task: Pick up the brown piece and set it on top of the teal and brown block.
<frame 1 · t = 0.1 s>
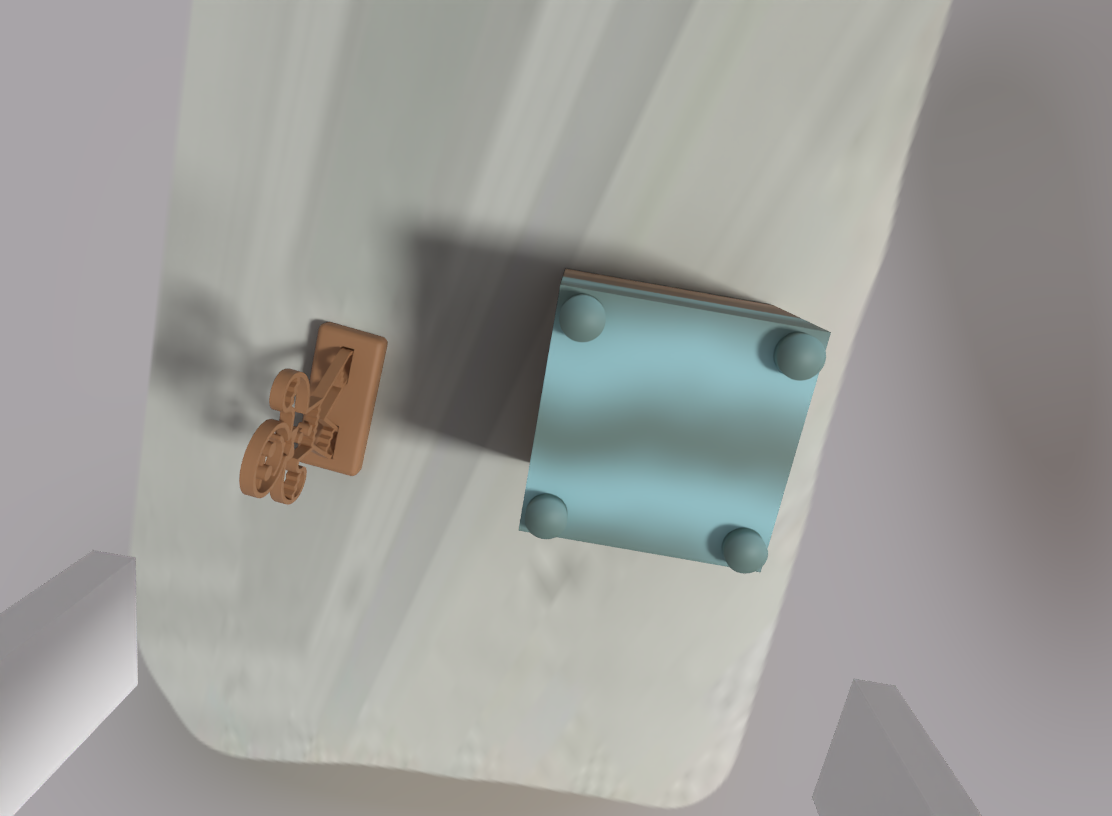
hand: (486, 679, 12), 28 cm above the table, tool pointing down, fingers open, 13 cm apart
brown piece: (344, 398, 40), on the table
teal and brown block: (647, 387, 39), on the table
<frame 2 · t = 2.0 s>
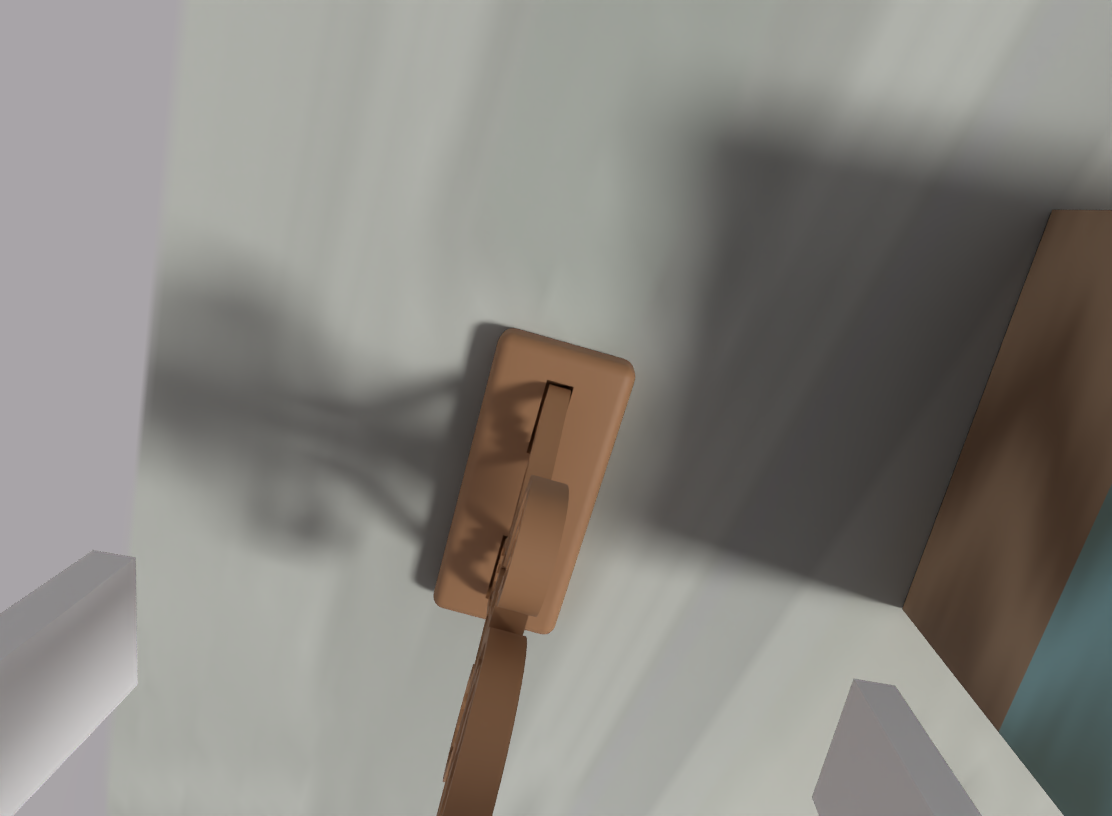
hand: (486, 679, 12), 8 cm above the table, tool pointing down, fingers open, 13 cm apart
brown piece: (530, 481, 20), on the table
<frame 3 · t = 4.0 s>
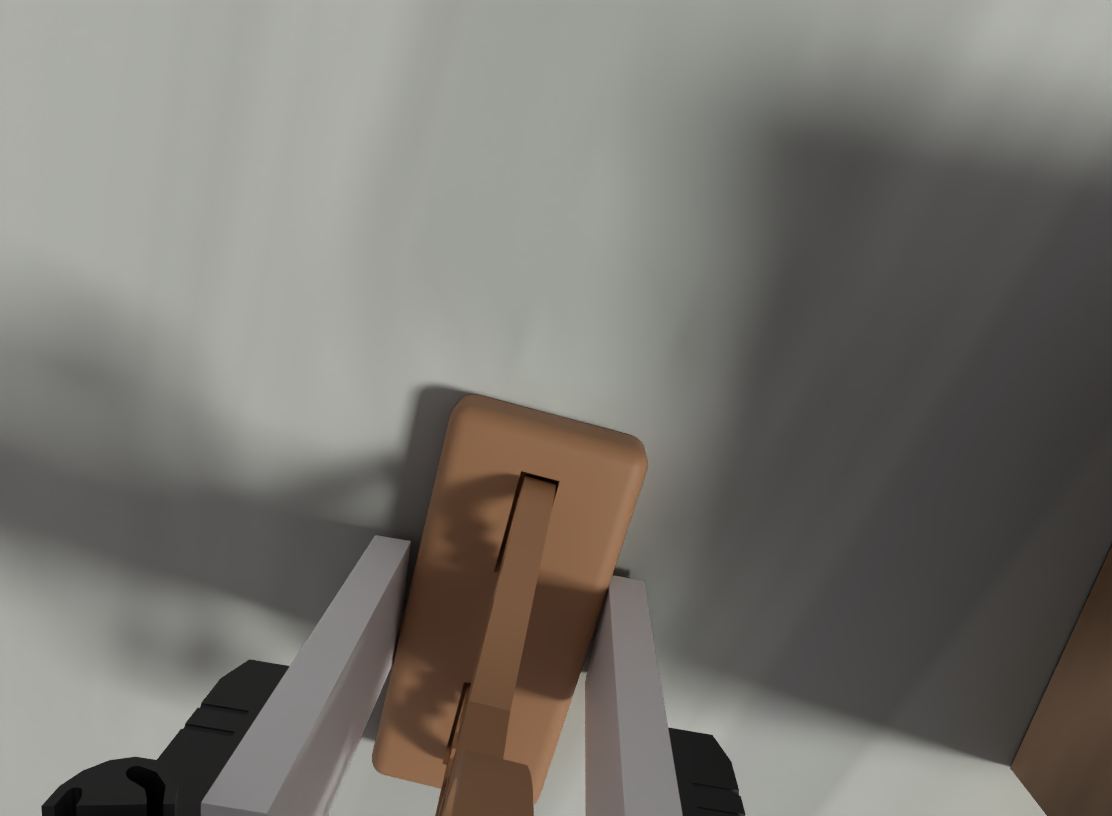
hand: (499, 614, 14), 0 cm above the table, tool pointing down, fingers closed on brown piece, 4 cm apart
brown piece: (503, 598, 14), on the table, touching gripper
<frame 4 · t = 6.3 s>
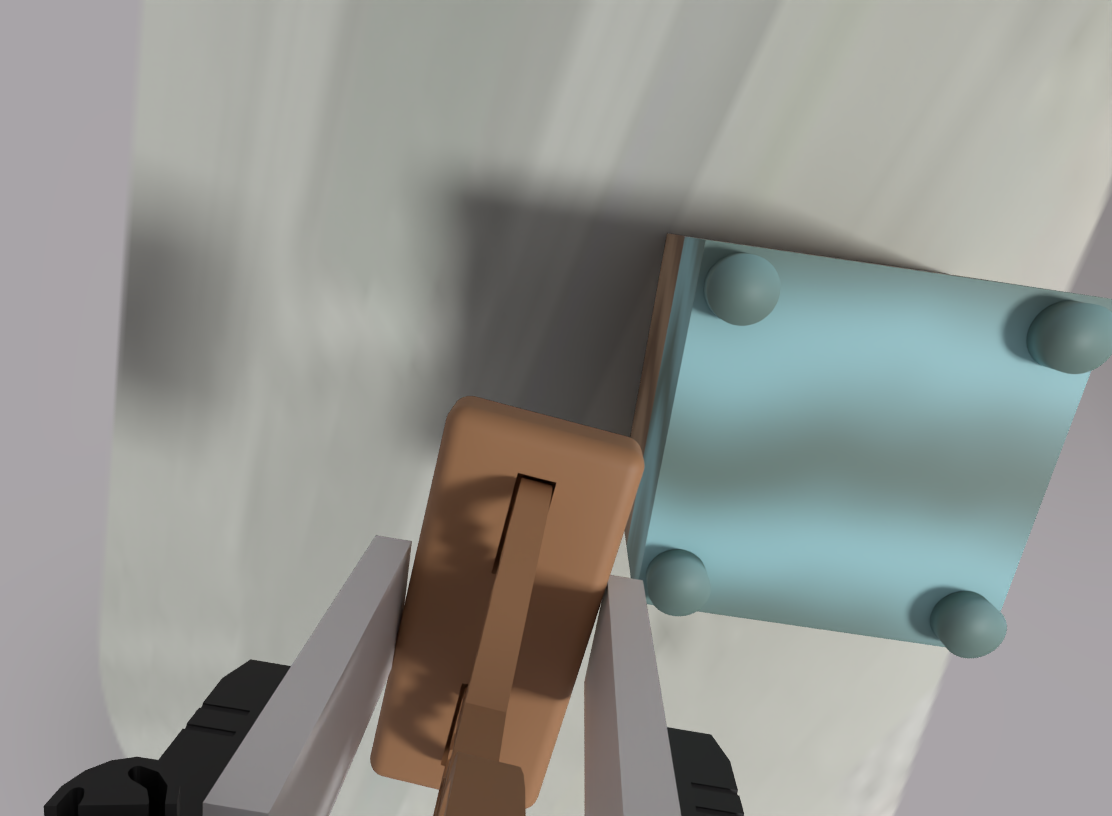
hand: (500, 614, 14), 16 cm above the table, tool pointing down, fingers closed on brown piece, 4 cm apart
brown piece: (501, 599, 15), point 16 cm above the table, touching gripper
teal and brown block: (775, 391, 29), on the table
when the fingers open (11 cm above the table, at t = 8.6 s): brown piece drops 1 cm, resting on teal and brown block.
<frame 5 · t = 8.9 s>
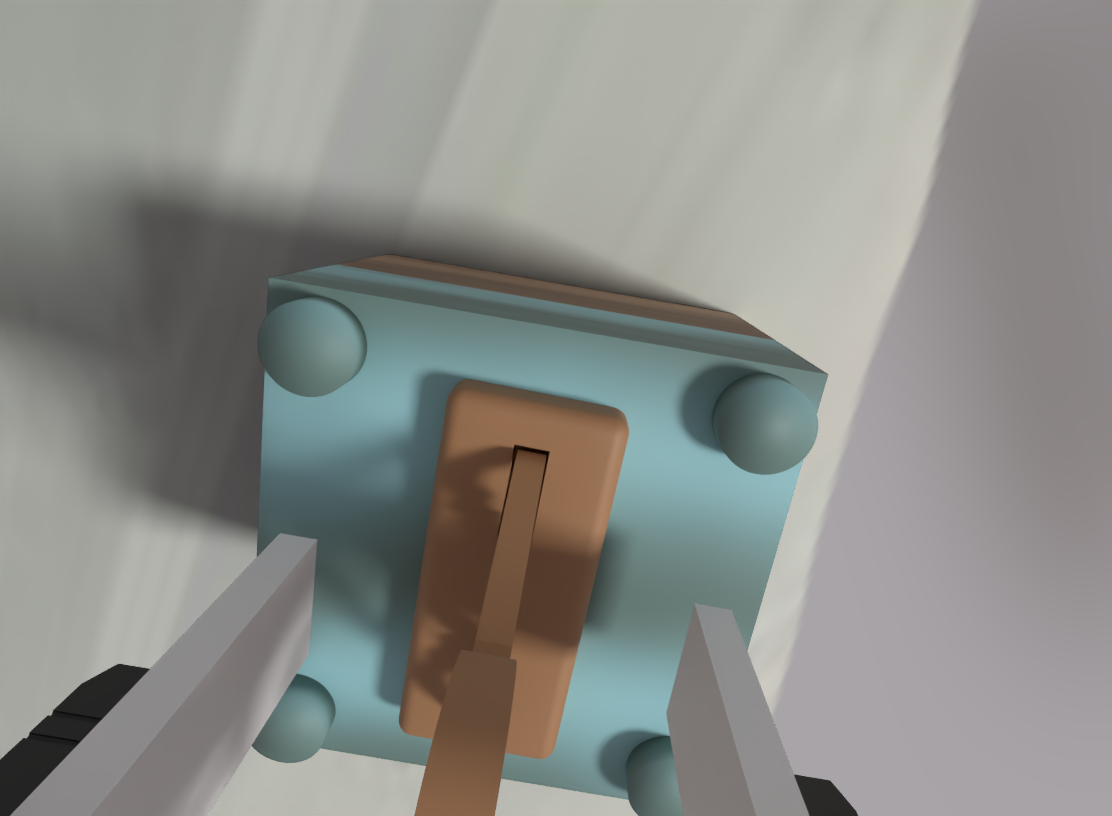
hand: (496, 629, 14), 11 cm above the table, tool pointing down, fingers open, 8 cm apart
brown piece: (509, 566, 16), point 9 cm above the table, touching teal and brown block
teal and brown block: (534, 446, 24), on the table
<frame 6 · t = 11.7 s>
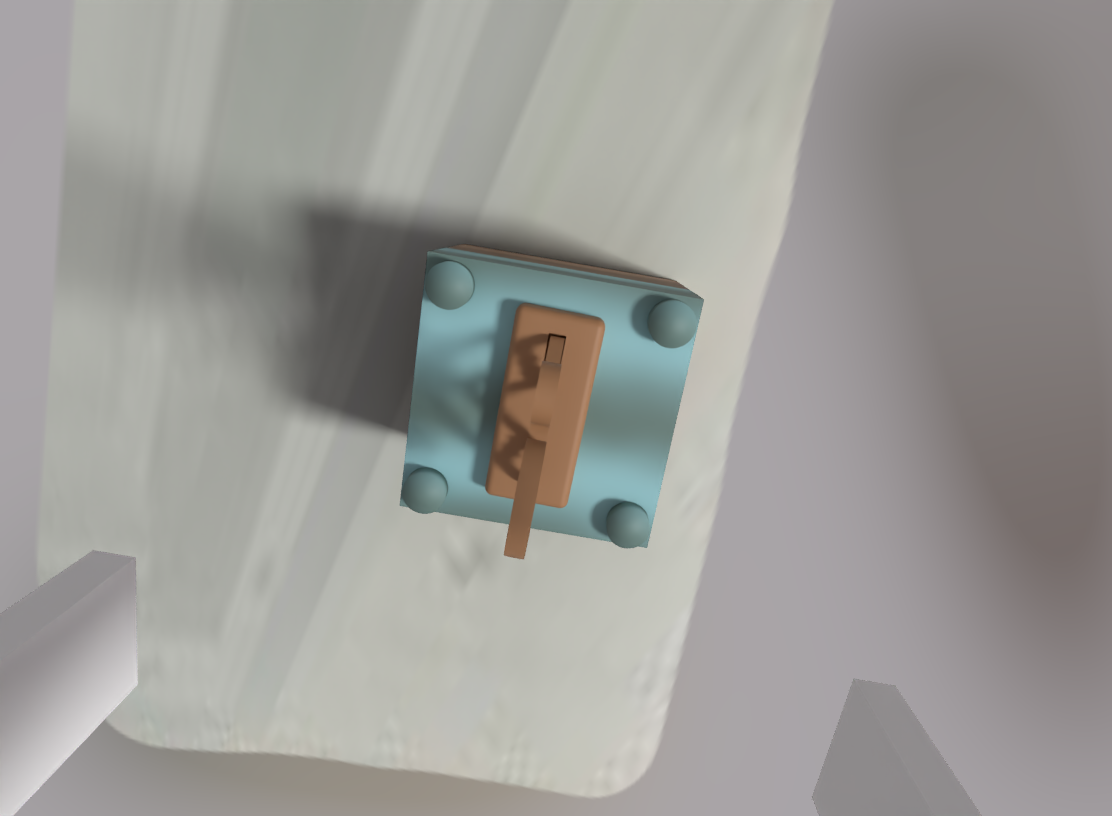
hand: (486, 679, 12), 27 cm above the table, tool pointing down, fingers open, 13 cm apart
brown piece: (543, 405, 30), point 9 cm above the table, touching teal and brown block
teal and brown block: (552, 365, 39), on the table
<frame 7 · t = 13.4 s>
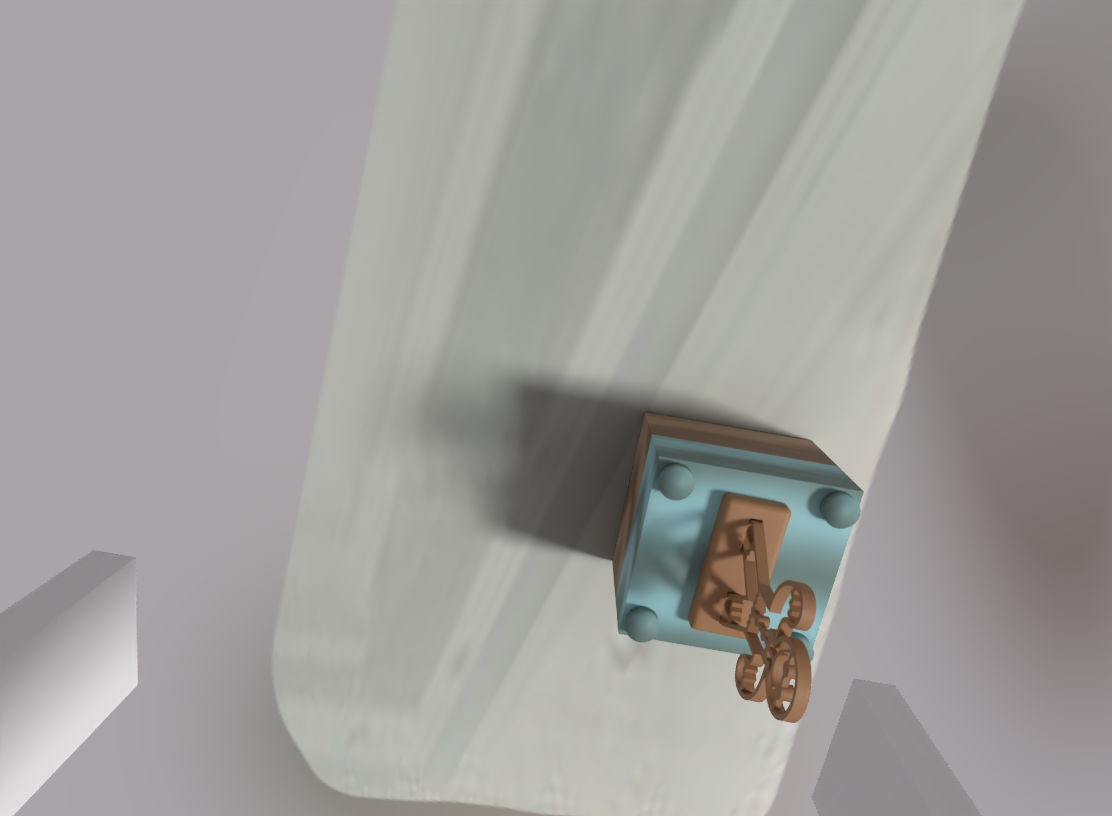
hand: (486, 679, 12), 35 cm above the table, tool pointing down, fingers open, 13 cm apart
brown piece: (735, 562, 40), point 9 cm above the table, touching teal and brown block
teal and brown block: (708, 503, 48), on the table
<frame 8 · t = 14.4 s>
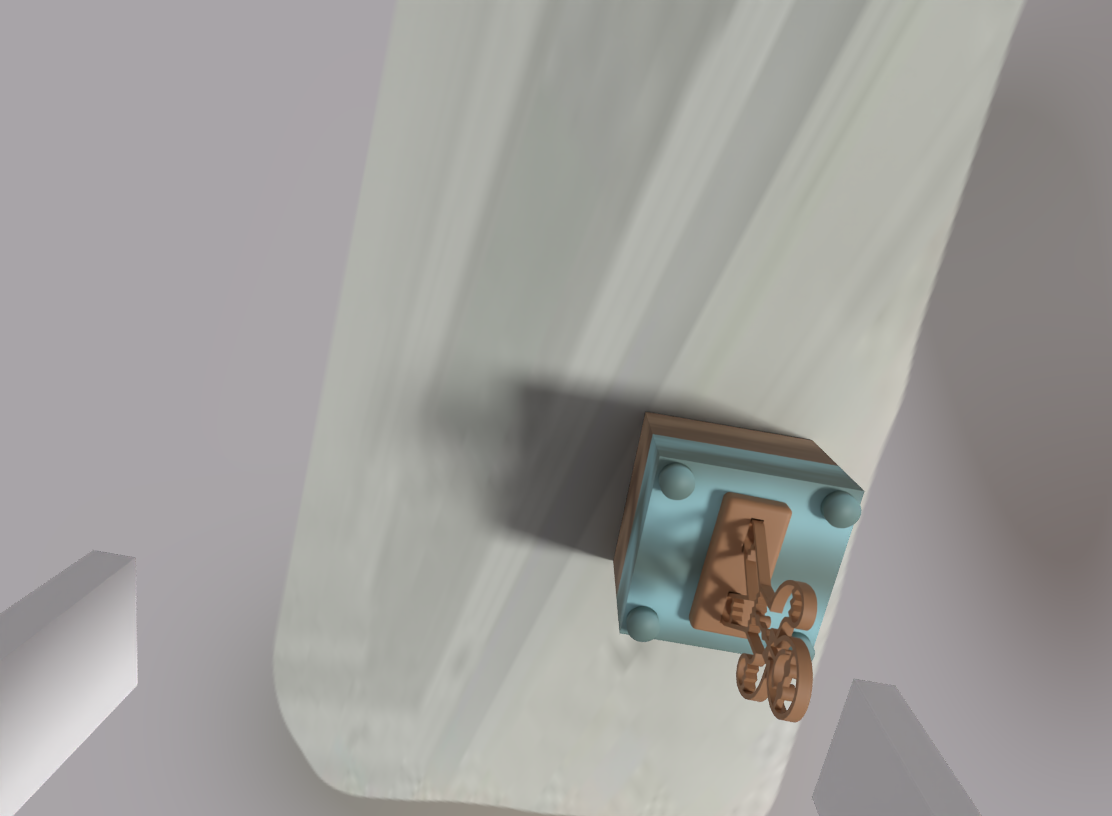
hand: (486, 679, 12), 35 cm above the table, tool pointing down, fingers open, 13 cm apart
brown piece: (736, 562, 40), point 9 cm above the table, touching teal and brown block
teal and brown block: (709, 502, 48), on the table
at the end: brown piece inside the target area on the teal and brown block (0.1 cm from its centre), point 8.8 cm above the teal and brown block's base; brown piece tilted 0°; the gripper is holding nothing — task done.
